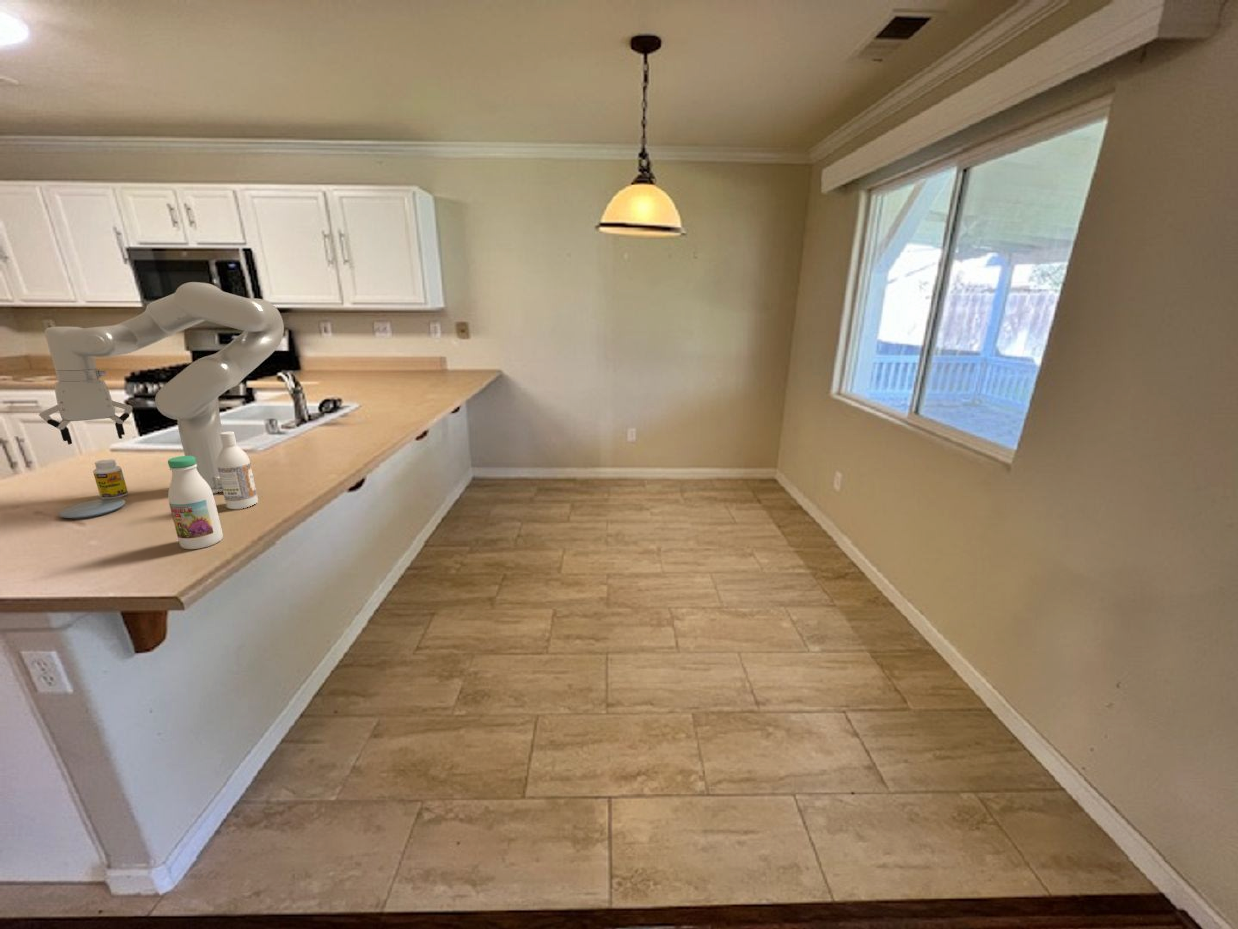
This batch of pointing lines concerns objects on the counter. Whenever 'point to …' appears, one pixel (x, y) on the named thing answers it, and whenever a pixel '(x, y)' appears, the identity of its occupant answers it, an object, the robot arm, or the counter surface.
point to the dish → (92, 508)
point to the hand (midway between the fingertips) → (95, 440)
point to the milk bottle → (192, 505)
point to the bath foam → (235, 474)
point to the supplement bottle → (109, 479)
